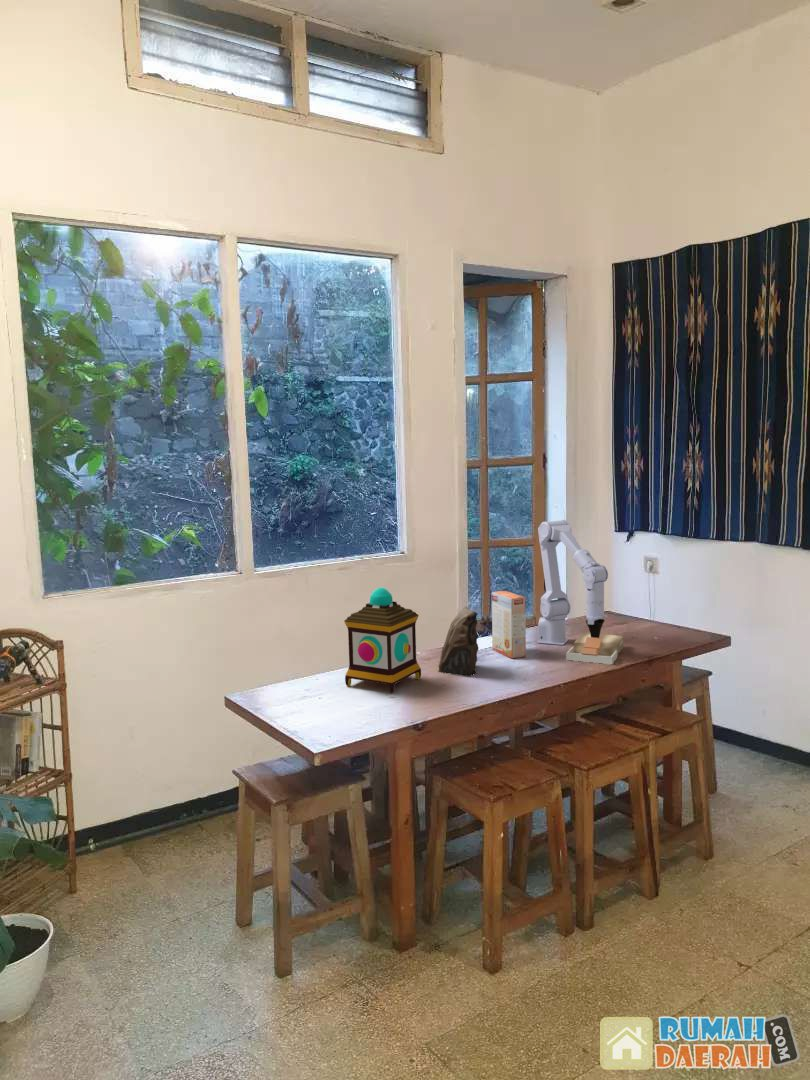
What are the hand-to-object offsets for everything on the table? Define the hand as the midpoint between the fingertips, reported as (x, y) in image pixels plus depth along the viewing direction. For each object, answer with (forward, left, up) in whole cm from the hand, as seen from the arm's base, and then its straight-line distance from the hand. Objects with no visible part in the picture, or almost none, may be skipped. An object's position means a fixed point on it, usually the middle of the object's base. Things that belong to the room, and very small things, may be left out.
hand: (595, 640), depth 279 cm
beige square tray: (0, +6, -5) cm, 8 cm away
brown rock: (-37, -33, -5) cm, 50 cm away
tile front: (0, -6, -2) cm, 7 cm away
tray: (0, -5, -5) cm, 7 cm away
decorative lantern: (-54, -53, -5) cm, 75 cm away
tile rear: (0, -2, -2) cm, 3 cm away
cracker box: (-28, -8, -5) cm, 29 cm away
